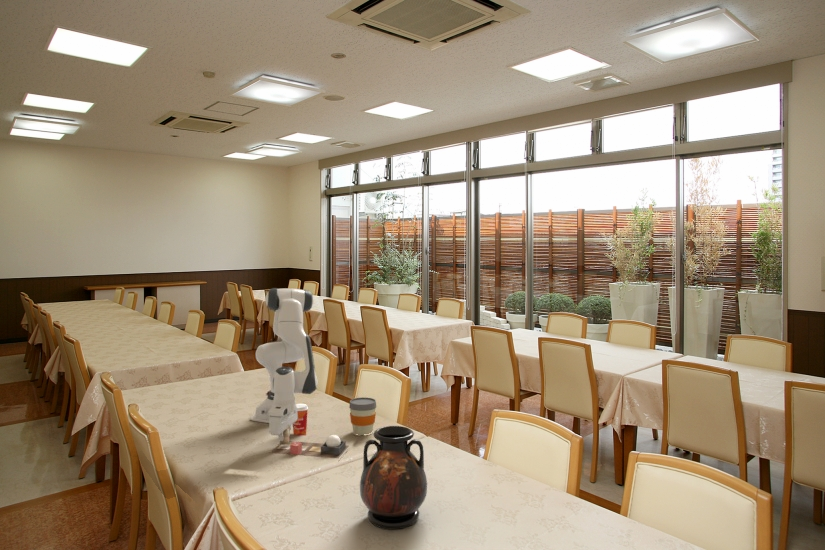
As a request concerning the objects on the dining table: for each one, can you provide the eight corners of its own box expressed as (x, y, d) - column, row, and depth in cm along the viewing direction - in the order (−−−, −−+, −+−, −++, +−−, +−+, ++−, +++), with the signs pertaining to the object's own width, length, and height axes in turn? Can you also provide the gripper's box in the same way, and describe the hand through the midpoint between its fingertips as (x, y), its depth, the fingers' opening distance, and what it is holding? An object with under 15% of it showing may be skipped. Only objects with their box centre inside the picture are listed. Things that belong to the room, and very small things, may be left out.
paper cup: (287, 437, 244) (287, 406, 243) (298, 431, 250) (298, 402, 250) (301, 439, 240) (301, 409, 239) (312, 434, 247) (311, 404, 246)
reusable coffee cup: (344, 434, 247) (344, 402, 246) (359, 426, 258) (359, 395, 258) (367, 439, 241) (367, 406, 241) (381, 430, 252) (381, 399, 252)
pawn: (277, 444, 226) (277, 422, 225) (282, 440, 230) (282, 419, 229) (286, 445, 225) (286, 423, 225) (290, 441, 229) (290, 420, 229)
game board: (269, 456, 221) (268, 445, 221) (283, 443, 235) (283, 433, 235) (338, 461, 216) (338, 450, 215) (349, 449, 229) (349, 438, 229)
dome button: (324, 451, 221) (324, 437, 220) (329, 446, 227) (329, 432, 226) (337, 452, 220) (337, 438, 219) (342, 447, 226) (342, 433, 225)
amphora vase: (425, 501, 182) (425, 420, 181) (429, 535, 161) (429, 443, 159) (361, 502, 182) (361, 420, 180) (357, 536, 160) (357, 444, 159)
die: (290, 453, 220) (290, 445, 220) (293, 450, 223) (293, 441, 223) (298, 454, 219) (298, 445, 219) (301, 451, 223) (301, 442, 223)
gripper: (287, 398, 237) (287, 429, 238) (266, 413, 217) (266, 446, 218) (301, 399, 236) (301, 430, 237) (280, 414, 216) (280, 447, 217)
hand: (284, 438), depth 227 cm, fingers closed on pawn, 4 cm apart
